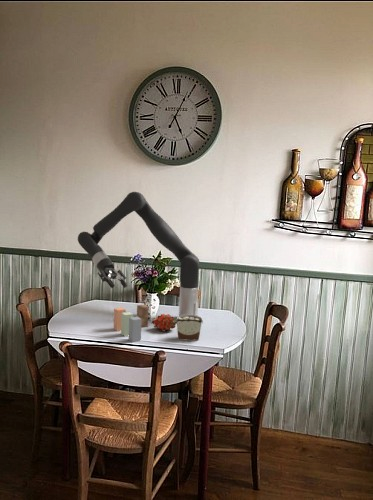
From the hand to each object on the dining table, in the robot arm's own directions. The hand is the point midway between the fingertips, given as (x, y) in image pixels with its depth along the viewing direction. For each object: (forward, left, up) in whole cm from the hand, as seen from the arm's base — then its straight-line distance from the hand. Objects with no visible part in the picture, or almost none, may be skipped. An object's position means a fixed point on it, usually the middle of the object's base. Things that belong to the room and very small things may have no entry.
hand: (119, 286), depth 219 cm
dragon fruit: (-22, -1, -19) cm, 29 cm away
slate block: (-13, +16, -19) cm, 29 cm away
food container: (-35, +5, -19) cm, 40 cm away
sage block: (-8, +11, -19) cm, 23 cm away
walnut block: (-11, -4, -19) cm, 22 cm away
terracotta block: (-2, +5, -19) cm, 20 cm away
